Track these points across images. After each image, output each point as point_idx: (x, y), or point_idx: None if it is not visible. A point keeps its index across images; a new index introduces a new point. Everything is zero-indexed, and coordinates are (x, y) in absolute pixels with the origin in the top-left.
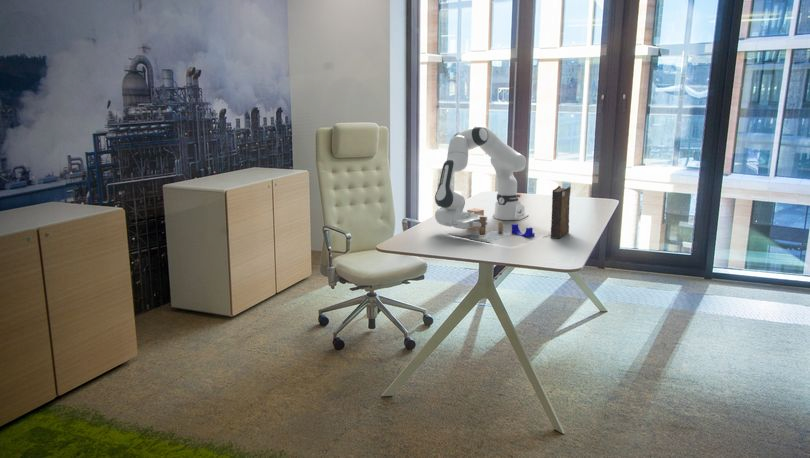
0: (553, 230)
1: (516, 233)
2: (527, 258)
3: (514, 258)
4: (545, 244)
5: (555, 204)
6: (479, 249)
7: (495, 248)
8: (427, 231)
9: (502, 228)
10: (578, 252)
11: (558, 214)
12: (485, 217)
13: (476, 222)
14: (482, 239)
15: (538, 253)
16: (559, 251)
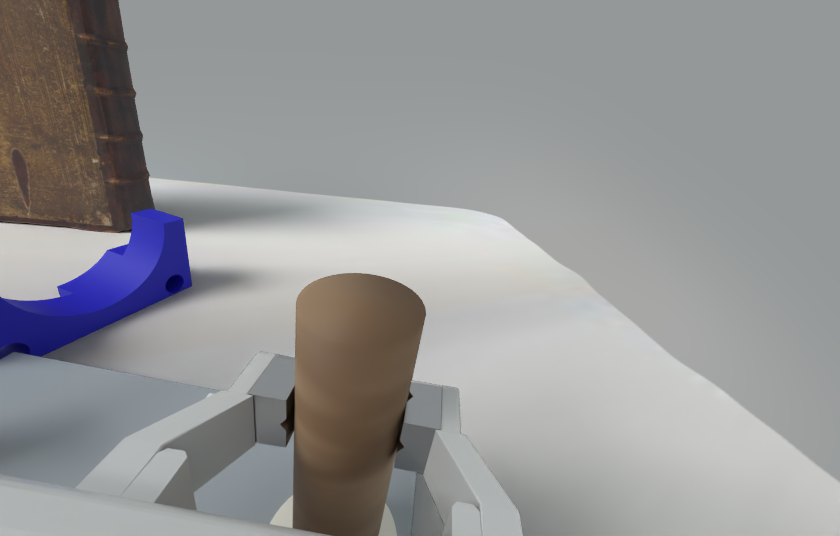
0: (137, 188)
1: (58, 321)
2: (521, 262)
3: (560, 283)
4: (288, 241)
5: (113, 24)
6: (615, 430)
7: (504, 362)
8: None
9: None
10: (358, 203)
11: (134, 91)
12: (369, 276)
13: (470, 458)
14: (390, 516)
15: (440, 249)
16: (374, 222)
